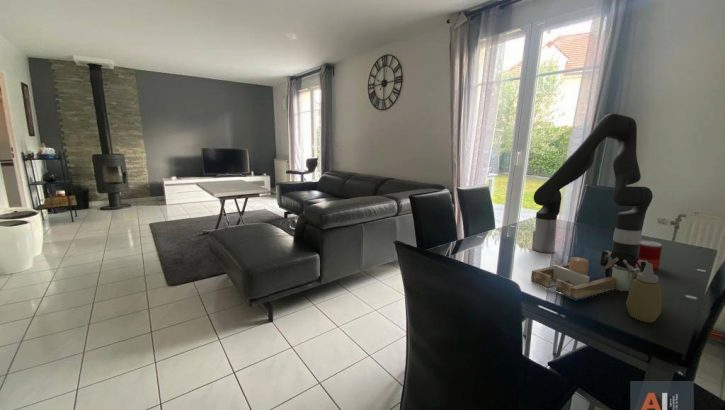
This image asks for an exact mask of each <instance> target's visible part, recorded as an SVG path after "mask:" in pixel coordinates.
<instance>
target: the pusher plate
mask: <svg viewBox="0 0 725 410" xmlns="http://www.w3.org/2000/svg"><path fill="white" fill-rule="evenodd" d="M558 265H559V264H554V265H553V266H554V271H553V279H552V280H554V281H557V280H558V279H559V280H562V281H564V282H567V283H569V284H571V285H573V286H577V285H581V284H584V283H588V282H590V280H591V279H590V277H591V276H588V275H587V276H586V275H583V274H580V273H577V272H575V271H572V270H569V269H566V268H564V267H561V266H558ZM544 288H545V289H546V290H548V289H549V288H550V289H551V288H556V283H554V284H550V285H549V286H545V287H544Z"/></svg>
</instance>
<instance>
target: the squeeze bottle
mask: <svg viewBox="0 0 725 410" xmlns="http://www.w3.org/2000/svg"><path fill="white" fill-rule="evenodd" d="M662 291H663V289H662V285H661V283H659V276H658V275H657V274H654V270H653V266H652V264H651V263H647V264H646V266H645V268H644V271H643V272H641V271H640V272H639V273H638V274H637V278H636V279H633V278H632V280H631V283H630V290H629V291H628V295H627V299H626V301H625V305H626V308H627V312H628V314H630V315H629V316H630V317H631V316H632V317H633V318H632V317H631V318H632V319H634V318H635V319H634V320H636V319H637V320H636V321H639V320H640V322H642V321H643V322H642V323H655V322H656V320H657V319H658V317H659V316H660V315H661V313H662V295H663V294H662Z"/></svg>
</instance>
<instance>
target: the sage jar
mask: <svg viewBox="0 0 725 410" xmlns="http://www.w3.org/2000/svg"><path fill="white" fill-rule="evenodd" d="M632 276H633V274H632V272H630V271H629V269H628V268H624V267H621V266H617V265H616V264H615V266H613V267H612V277H613V278H616V283H615V289H618V290H623V291H628V292H629V291H630V288H631V284H632Z"/></svg>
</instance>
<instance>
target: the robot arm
mask: <svg viewBox="0 0 725 410" xmlns="http://www.w3.org/2000/svg"><path fill="white" fill-rule="evenodd" d="M637 131H638V129H637V122H636V120H635V119H634V118H633V117H630V116H627V115H624V114H619V113H614V112H611V113H608V114H606V115H604V116H603V117H602V118H601V119H600V120H599V121H598V122H597V124H596V125H595V127H594V128H593V129H592V130H591V131H590V132H589V134H588V136H587V137H585V139H584V141H583V142H581V144H580V145H579V146H578V147H577V148H576V150H574V152H572V154H571V155H569V157H567V159H566V160H564V163H562V165H560V167H559V168H557V170H556V171H555V172H554V173H553V174H552V175H551V177H550V178H549V179H547V180H546V181H545V182H544V183H543V184H542V185H540V187H538V188H537V189H536V190H535V191H534V194H533V201H534V203H535V204H536V205H538V206H541V208H540V209H539V210H537V211H536V214H535V225H534V226H535V227H534V228H535V229H534V230H533V231H532V245H531V249H532V250H534V251H536V252H540V253H545V254H546V253H547V254H551V253H554V252H555V248H556V235H557V223H558V216H559V214H560V212H561V211H560V210H561V205H562V193H561V192H562V191H561V189H563V188H564V187H566V186H568V185H569V184H572V183H573V182H575V181H576V180H578V179H579V178H581V177H582V176H583V175H584V174H585V173H586V172H587V171H588V170H589V169H590V168H591V167H592V166H593V164H594V161H595V155H596V150H597V148H598V146H600V144H601V143H602V142H603V141H604V140H605V139H606V138H608V139H612V140H616V141H617V144H618V146H619V151H618V152H617V154H616V156H615V157H614V159H613V164H612V167H613V172H614V179H615V182H614V188H613V192H612V201H613V202H614V204H615V205H617V206H619V207H620V206H621V207H632V208H631V209H630V210H626V211H621V212H620V211H619V212H618V213H617V215H616V218H615V219H616V220H615V226H614V227H615V229H614V230H613V239H612V247H611V250H612V251H610V250H609V249H607V250H603V251H602V252H601V258H600V262H599V263H600V266H603V267H604V268H605V274H604V275H605V278H607V277H612V269H613V266H615V264H616V265H617V266H621V267H624V268H628V269H629V271H630V272H632V276H633V277H632V280H633V279H636V278H637V274H638V273H639V272H643V271H644V268H645V266H646V264H647V263H649V261H647V260H646V261H643V260H639V258H638V255H639V250H640V242H641V240H642V226H643V225H642V224H643V220H644V217H645V214H646V212H647V211H648V208H649V206H650V204H651V203H652V201H653V198H654V195H653V192H652V190H651V189H650V188H649V187H647V186H630V185H634V184H636V183H638V182H640V180H641V178H642V174H641V171H640V167H639V162H638V155H637V143H638V142H637V139H638V137H637V136H638V135H637V134H638V132H637ZM628 185H629V186H628ZM609 257H611V259H612V260H611V261H609ZM637 263H639V265H640V266H641V268H639V267H638V266H637V265H636V264H637Z"/></svg>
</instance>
